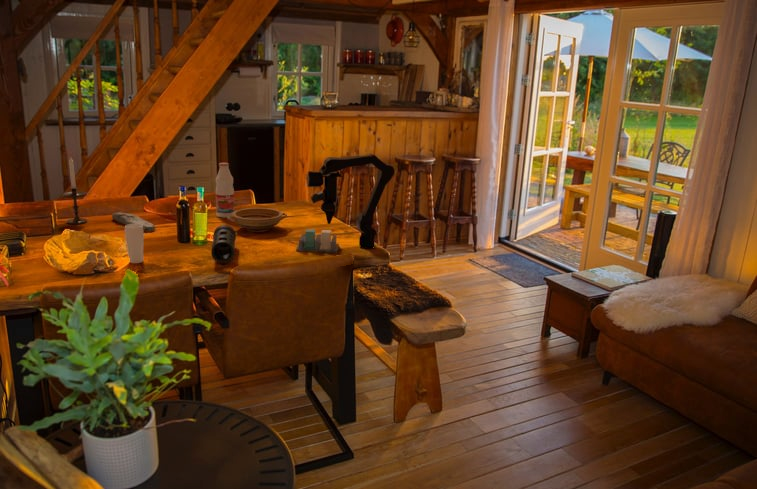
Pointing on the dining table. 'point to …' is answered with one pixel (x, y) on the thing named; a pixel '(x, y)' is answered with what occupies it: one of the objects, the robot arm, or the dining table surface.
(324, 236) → the off-white plug
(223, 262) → the muzzle brake
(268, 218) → the ceramic bowl
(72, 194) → the candlestick
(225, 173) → the fruit juice
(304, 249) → the slot rack
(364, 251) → the dining table surface
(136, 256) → the drinking glass
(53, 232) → the dining table surface
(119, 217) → the long grey stone
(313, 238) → the teal plug
